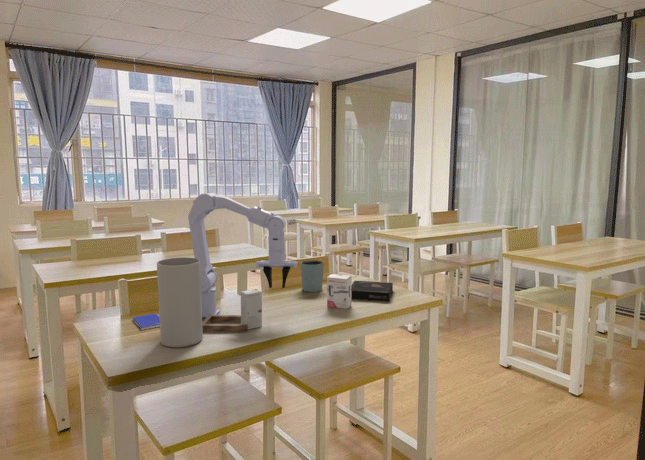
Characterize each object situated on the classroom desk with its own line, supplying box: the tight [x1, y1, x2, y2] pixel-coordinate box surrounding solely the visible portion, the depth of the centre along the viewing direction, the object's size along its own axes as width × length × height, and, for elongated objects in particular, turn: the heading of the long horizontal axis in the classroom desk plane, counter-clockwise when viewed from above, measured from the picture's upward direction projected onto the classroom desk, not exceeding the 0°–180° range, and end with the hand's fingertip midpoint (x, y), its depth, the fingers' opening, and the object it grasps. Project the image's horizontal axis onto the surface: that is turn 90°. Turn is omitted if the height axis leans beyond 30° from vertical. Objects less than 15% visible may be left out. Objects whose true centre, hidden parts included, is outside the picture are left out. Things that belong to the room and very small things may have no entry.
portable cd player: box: [351, 280, 394, 303], centre depth 199 cm, size 16×17×4 cm
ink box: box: [326, 273, 352, 310], centre depth 182 cm, size 9×5×12 cm, turn 68°
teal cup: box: [300, 259, 325, 293], centre depth 207 cm, size 10×10×12 cm
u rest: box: [202, 314, 249, 333], centre depth 161 cm, size 15×11×2 cm
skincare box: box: [240, 289, 263, 330], centre depth 160 cm, size 6×4×12 cm
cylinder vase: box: [156, 256, 204, 349], centre depth 146 cm, size 12×12×25 cm
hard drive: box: [132, 313, 160, 331], centre depth 165 cm, size 2×8×12 cm
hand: (277, 287), depth 171 cm, fingers open, 4 cm apart
